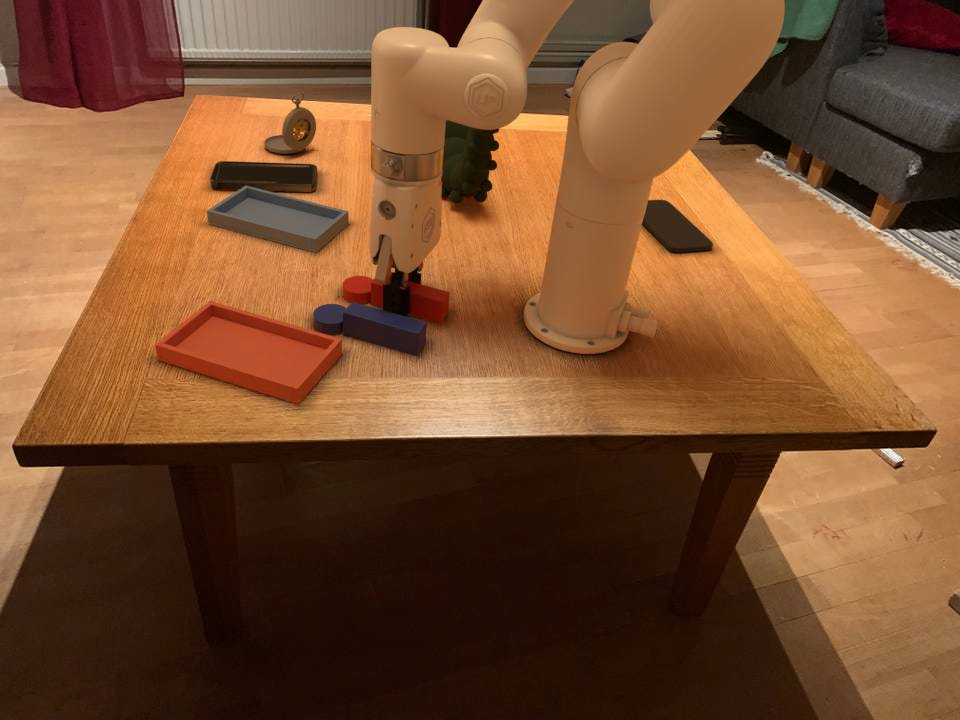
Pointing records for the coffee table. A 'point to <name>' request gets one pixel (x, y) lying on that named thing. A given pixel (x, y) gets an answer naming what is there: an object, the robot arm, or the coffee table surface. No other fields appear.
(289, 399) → the red tray
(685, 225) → the phone
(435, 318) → the red spoon
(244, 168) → the phone
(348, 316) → the blue spoon
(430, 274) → the coffee table surface
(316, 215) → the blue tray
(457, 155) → the toy figurine
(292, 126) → the pocket watch
